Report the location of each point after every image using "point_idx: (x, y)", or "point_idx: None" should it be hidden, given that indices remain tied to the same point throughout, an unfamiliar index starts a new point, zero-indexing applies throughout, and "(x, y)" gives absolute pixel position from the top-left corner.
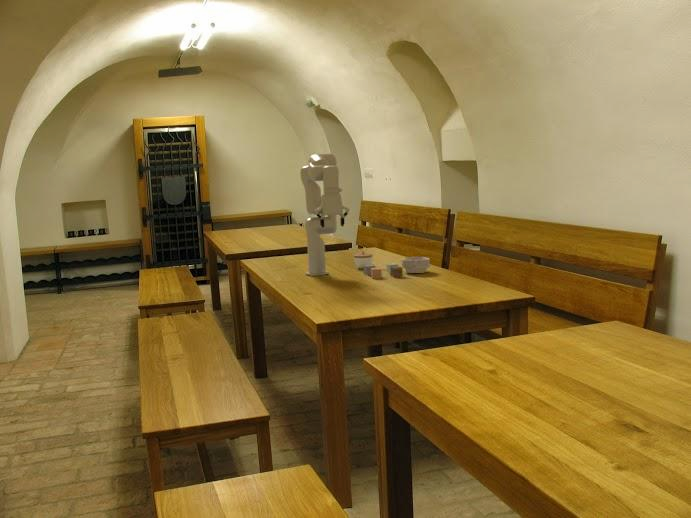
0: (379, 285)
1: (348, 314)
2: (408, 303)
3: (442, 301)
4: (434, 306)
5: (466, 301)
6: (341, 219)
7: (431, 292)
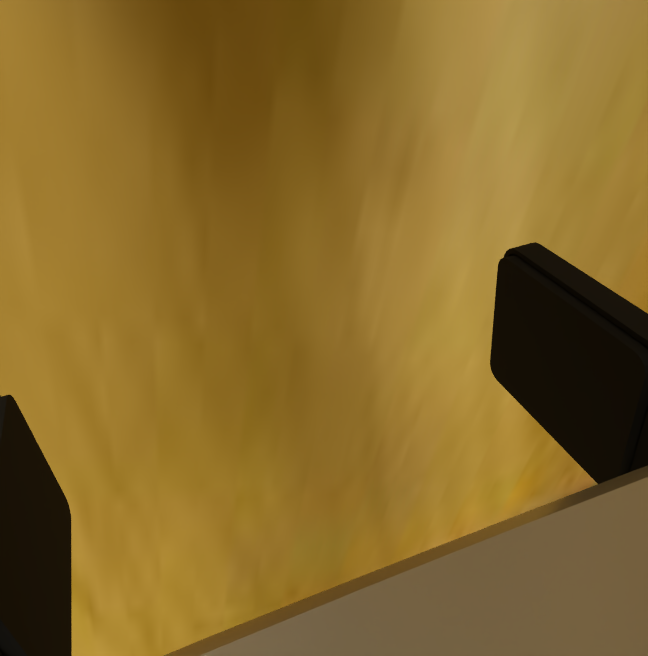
0: (472, 38)
1: (210, 625)
2: (452, 475)
3: None
4: (509, 507)
5: None
6: (598, 441)
7: None
